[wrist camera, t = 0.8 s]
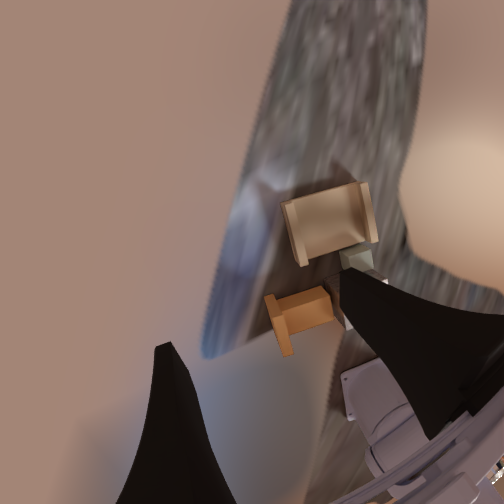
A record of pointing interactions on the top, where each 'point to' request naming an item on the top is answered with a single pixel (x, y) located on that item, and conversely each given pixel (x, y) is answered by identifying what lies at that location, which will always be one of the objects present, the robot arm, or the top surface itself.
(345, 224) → the tan flat bracket
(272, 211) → the top surface
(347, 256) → the socket
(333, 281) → the grey block
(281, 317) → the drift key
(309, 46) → the top surface
